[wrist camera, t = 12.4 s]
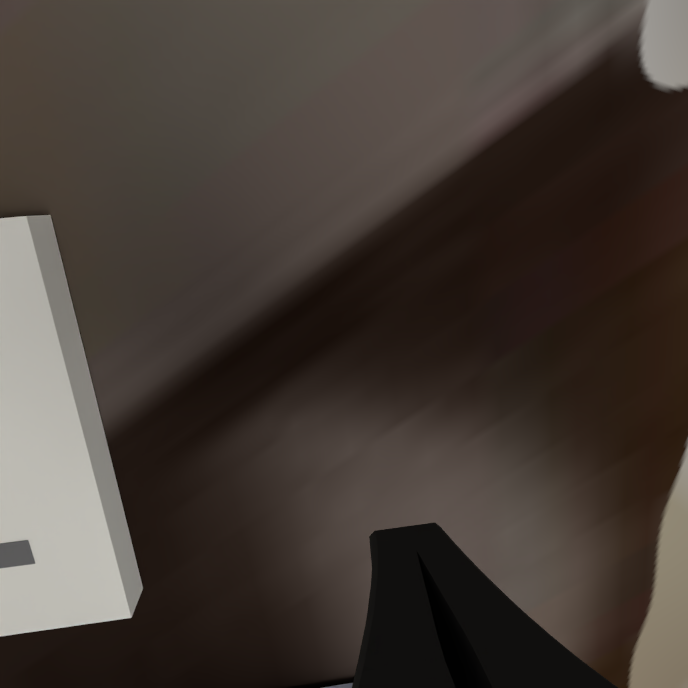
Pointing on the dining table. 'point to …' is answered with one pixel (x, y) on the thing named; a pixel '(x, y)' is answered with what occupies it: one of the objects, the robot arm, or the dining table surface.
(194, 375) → the dining table surface
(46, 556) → the fader panel
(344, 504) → the dining table surface
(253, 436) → the dining table surface
